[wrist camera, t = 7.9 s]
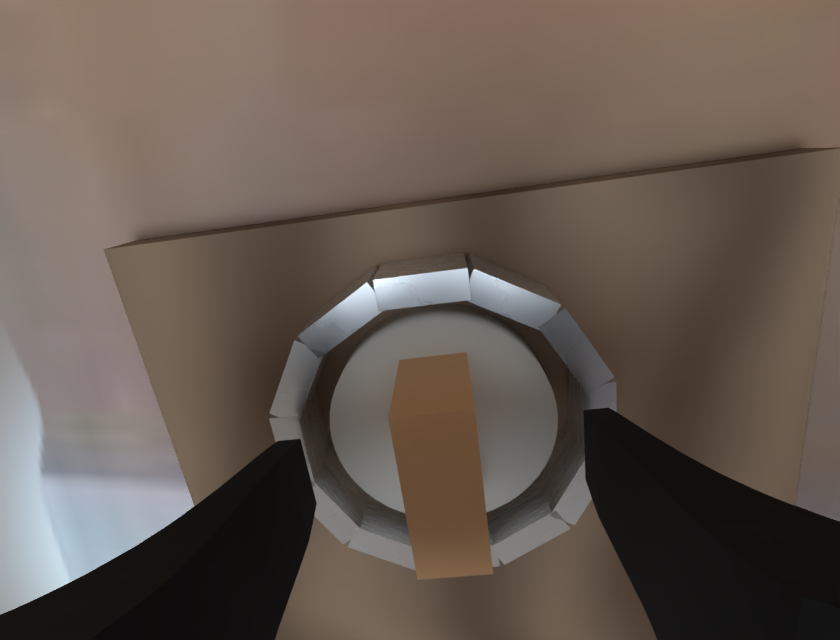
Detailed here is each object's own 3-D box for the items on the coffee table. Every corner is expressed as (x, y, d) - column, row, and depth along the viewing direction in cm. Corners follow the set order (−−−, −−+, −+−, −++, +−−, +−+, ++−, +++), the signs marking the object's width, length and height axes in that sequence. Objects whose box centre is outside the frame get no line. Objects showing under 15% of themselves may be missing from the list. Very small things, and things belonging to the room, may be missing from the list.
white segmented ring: (589, 235, 13) (616, 249, 11) (595, 509, 16) (617, 557, 14) (264, 277, 14) (236, 296, 12) (327, 532, 16) (313, 580, 15)
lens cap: (540, 290, 13) (587, 351, 9) (550, 477, 15) (594, 599, 11) (321, 316, 14) (269, 386, 10) (359, 495, 16) (330, 617, 12)
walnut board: (802, 148, 13) (846, 147, 12) (742, 670, 20) (765, 709, 19) (135, 240, 15) (103, 249, 13) (286, 696, 22) (275, 734, 20)
